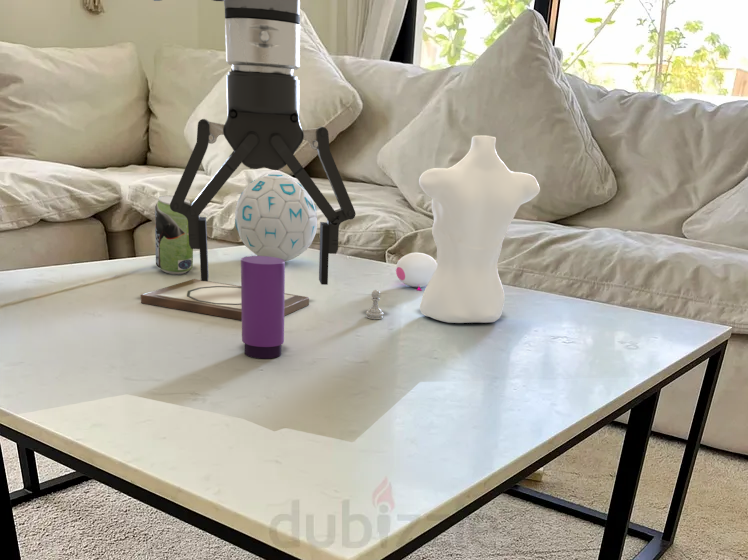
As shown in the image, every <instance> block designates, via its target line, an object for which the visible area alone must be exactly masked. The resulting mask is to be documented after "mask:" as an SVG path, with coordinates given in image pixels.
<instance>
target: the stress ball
mask: <svg viewBox="0 0 748 560" xmlns="http://www.w3.org/2000/svg"><path fill="white" fill-rule="evenodd" d="M436 268H437V260H436V259H434V257H432V256H431V255H429V254H427V253H424V252H410V253H407V254H405V255H403V256H402V257H401V258H398V261H397V262H396V264H395V275H396V277H397V279H398V280H399V281H400V282H401V283H402V284H404V285H406V286H408V287H412V288H417V289H416V291H423V289H421V288H423V287H424V288H425V287H426V286H427V285H428V283H429V281H430V279H431V278H432V276H433V274H434V272H435V270H436Z"/></svg>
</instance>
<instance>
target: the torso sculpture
mask: <svg viewBox="0 0 748 560" xmlns="http://www.w3.org/2000/svg"><path fill="white" fill-rule="evenodd" d="M496 143H497V138H496V136H491V135H488V134H487V135H486V134H484V135H483V134H482V135H477V134H476V135H473V136H472V137H471V144H470V146H469V147H470V148H469V150H468V152H466V154H465V155H464V157H462V159H460V160H459V161H458V162H456V163H455V164H453V165H452V166H450V167H433V168H428V169H426V170H424V171H423V172H422V173H421V174H420V176H419V178H418V185H419V187H420V189H421V190H422V192H423V193H424V194H425V195H426V196H427V197H429V198H430V199H431V213H432V216H433V224H432V227H431V233H432V238H433V240H434V243H435V247H436V262H437V268H436V270H435V272H434V274H433V276H432V278H431V279H430V281H429V283H428V285H427V286H425V288H424V291H423V294H422V296H421V299H420V300H421V301H420V303H419V310H420V313H421V314H422V315H423V316H425V317H427V318H431V319H434V320H436V321H440V322H443V323H449V324H454V323H455V324H464V323H467V324H468V323H469V324H470V323H481V324H483V323H485V324H487V323H494V322H496V321H498V320H499V319H501V317H502V313H503V310H504V305H505V291H504V287H503V284H502V281H501V278H500V275H499V270H498V262H499V259H500V256H501V252H502V247H503V243H504V240H505V239H506V237H507V234H508V232H509V230H510V225H511V223H512V222H513V221H514V218H515V216H516V214H517V212H518V211H519V208H520V207H521V206H522V205H524V204H527V203H528V202H530V201H532V200H533V199H535V198H536V197H537V196H538V195H539V193H540V192H541V187H540V185H539V182H538V180H537V178H536V177H535V176H534V175H532V174H530V173H525V172H521V171H513V170H510V168H508V166H507V165H506V164H505V163H504V161H503V160H502V159H501V158H500V156H499V155H498V153H497V150H496Z"/></svg>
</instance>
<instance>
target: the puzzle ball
mask: <svg viewBox="0 0 748 560" xmlns="http://www.w3.org/2000/svg"><path fill="white" fill-rule="evenodd" d="M234 220H235V221H234V223H235V228H236V231H237V233H238V237H239V238H240V240H241V242H242V243H243V245H244V246H245V247H246V248H247V249H248V250H250V252H252V253H253V254H254V255H255V256H268V257H276V258H280V259H283V260H284V261H285V262H288V261H291V260H294V259H295V258H298V257H299V256H300V255H302V254H303V253H304V252H306V251H307V250H308V249H309V248H310V246H311V245H312V244H313V241H314V240H315V236H316V234H317V230H318V213H317V206H316V204H315V202H314V201H313V199H312V198H311V197H310V195H309V194H308V193H307V191H306V190H305V189H304V187H303V186H302V185H301V183H300V182H296V181H295V180H294V179H292V178H290V177H287V176H285V175H284V174H268V173H267V175H264V176H260V177H258V178H257V179H254V180H252V181H251V182H249V184H248V185H247V186H246V187H245V188H244V190H242V191H241V193H240V195H239V197H238V200H237V202H236V205H235V211H234Z"/></svg>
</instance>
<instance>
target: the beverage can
mask: <svg viewBox="0 0 748 560" xmlns="http://www.w3.org/2000/svg"><path fill="white" fill-rule="evenodd" d="M173 196H174V195H172V194H171V195H168V194H167V195H161V196H159V197H158V201H157V202H156V204H155V206H154V226H155V228H154V233H155V235H154V236H155V241H154V242H155V265H156V266H157V268H159V269H160V270H161V271H162V272H164V273H166V274H169V275H183V274H187V272H188V271H190V270H192V269H193V267H194V249H191V247H190V245H189V233H188V220H187V218H186V217H185V216H184V215H183V214H180V213H178V212H174V211H172V210H171V208H170V203H171V200H172V198H173ZM185 202H187V203H190V204H191V201H190V199H189V198H187V197H186V198H185Z"/></svg>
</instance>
